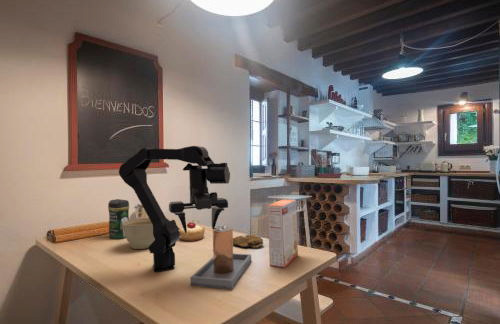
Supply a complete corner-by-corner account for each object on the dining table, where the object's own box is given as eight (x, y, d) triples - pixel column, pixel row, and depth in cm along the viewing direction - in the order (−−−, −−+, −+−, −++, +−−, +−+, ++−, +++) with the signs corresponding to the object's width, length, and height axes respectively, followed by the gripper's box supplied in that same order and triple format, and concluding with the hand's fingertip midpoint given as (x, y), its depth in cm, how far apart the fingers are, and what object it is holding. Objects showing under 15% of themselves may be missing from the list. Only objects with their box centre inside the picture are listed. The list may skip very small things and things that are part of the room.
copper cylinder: (216, 275, 86) (215, 229, 86) (211, 268, 92) (210, 225, 92) (236, 271, 89) (235, 227, 88) (229, 264, 94) (228, 223, 94)
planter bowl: (164, 248, 117) (163, 222, 117) (122, 254, 111) (121, 227, 111) (161, 239, 132) (161, 216, 132) (124, 243, 126) (123, 219, 126)
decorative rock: (270, 245, 120) (242, 241, 128) (270, 235, 120) (242, 232, 128) (256, 251, 110) (226, 246, 119) (255, 240, 111) (226, 237, 119)
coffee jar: (106, 237, 136) (105, 199, 136) (120, 234, 143) (119, 197, 143) (118, 240, 131) (117, 201, 131) (132, 236, 138) (131, 198, 138)
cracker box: (283, 253, 107) (282, 198, 107) (298, 255, 104) (297, 199, 104) (268, 265, 95) (266, 204, 95) (284, 268, 92) (283, 205, 92)
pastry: (179, 237, 136) (178, 219, 136) (203, 234, 139) (202, 216, 139) (179, 243, 124) (178, 223, 124) (206, 240, 127) (205, 220, 127)
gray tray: (190, 285, 81) (190, 277, 81) (218, 259, 102) (217, 252, 102) (232, 289, 78) (231, 280, 78) (251, 261, 99) (251, 254, 99)
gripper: (173, 187, 81) (174, 241, 82) (233, 183, 89) (234, 232, 89) (168, 184, 92) (169, 232, 92) (222, 181, 99) (223, 225, 99)
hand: (199, 230), depth 93 cm, fingers open, 9 cm apart
